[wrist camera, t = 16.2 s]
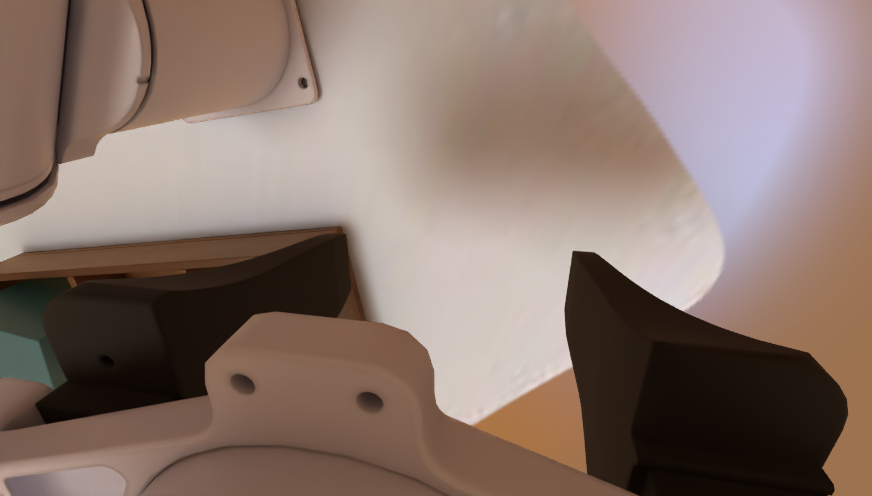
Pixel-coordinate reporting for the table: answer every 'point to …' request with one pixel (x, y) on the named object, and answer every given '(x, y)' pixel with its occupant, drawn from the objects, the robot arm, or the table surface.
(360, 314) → the organizer
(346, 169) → the table surface
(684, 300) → the table surface
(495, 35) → the table surface
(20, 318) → the teal box
